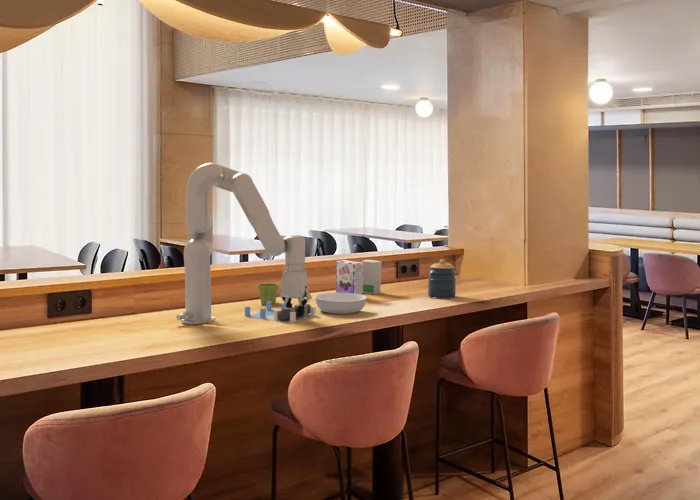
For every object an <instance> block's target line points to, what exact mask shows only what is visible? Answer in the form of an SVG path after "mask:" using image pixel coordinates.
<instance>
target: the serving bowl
mask: <svg viewBox="0 0 700 500" xmlns="http://www.w3.org/2000/svg"><path fill="white" fill-rule="evenodd" d="M314 300H315V305H316V307H317V308H318V309H319V310H321V311H322V312H324V313H328V314H334V315H347V314H348V315H349V314H355V313H359V312H360V311H362V309H364V307H365V305H366V303H367V296H366V295H360V294H354V293H336V292H324V293H320V294H317V295H315V296H314Z"/></svg>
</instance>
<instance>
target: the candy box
mask: <svg viewBox="0 0 700 500" xmlns="http://www.w3.org/2000/svg"><path fill="white" fill-rule="evenodd" d="M335 267H336V277H335V279H336V280H335V281H336V282H335V283H336V284H335V285H336V287H335V291H336V292H335V293H354V294H360V295H363V294H364V293H363V263H361V262H360V261H353V260H347V259H342V260H336V265H335Z"/></svg>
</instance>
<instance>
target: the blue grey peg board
mask: <svg viewBox="0 0 700 500" xmlns="http://www.w3.org/2000/svg"><path fill="white" fill-rule="evenodd" d="M280 306H281V307H280V309H273V308H272V304H271V301H267V302H266V305H265V307H262V308H260V309H259V311H258V312H254V313H251V305H250V306H249V305H246V306H244V315H242V317H245V318H251V319H257V320H259V319H260V320H267V321H273V322H280V323H281V322H282V323H287V324H292V323H296V322H299V321H303V320H306V319H309V318H312V317H317V316H318V314H316V313H317V311H316V309H317V306H311V307H310V314H307V316H306V317H300V316H299V317H296V312H290V320H285V321H280V320H279V319H278V312H279V311H281V310H283V308H286V304H285V303H284V302H282V303H281V304H280Z"/></svg>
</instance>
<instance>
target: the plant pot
mask: <svg viewBox="0 0 700 500" xmlns="http://www.w3.org/2000/svg"><path fill="white" fill-rule="evenodd" d="M256 287H257V289H258V291H259V298H260V304H261V306H266V302H267V301H271V305H275V304H276V303H277V297H278V296H277V295H278V289H279V287H280V284H278V283H273V282H272V283H270V282H269V283H267V282H266V283H260V284H259V283H258V284H257V285H256Z"/></svg>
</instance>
